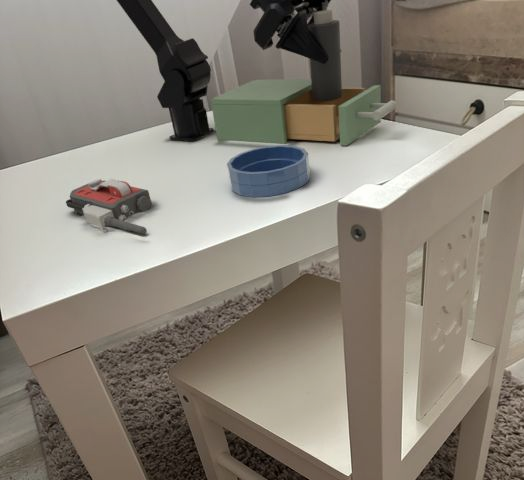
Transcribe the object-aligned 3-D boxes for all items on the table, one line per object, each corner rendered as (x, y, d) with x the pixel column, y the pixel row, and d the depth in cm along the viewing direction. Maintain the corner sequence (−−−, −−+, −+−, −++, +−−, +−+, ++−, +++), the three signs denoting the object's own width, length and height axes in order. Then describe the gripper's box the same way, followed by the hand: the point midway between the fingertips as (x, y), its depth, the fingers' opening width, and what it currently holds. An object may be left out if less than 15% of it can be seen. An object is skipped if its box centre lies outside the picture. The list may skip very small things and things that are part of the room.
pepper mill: (314, 103, 84) (308, 15, 77) (310, 96, 88) (304, 12, 81) (344, 98, 84) (341, 10, 77) (339, 92, 88) (335, 7, 81)
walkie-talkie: (56, 217, 77) (141, 245, 66) (45, 188, 74) (131, 211, 63) (105, 195, 82) (191, 217, 70) (96, 167, 79) (184, 185, 68)
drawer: (404, 123, 88) (405, 85, 84) (371, 147, 80) (371, 106, 77) (312, 119, 97) (309, 85, 93) (275, 141, 89) (271, 104, 86)
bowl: (216, 197, 75) (211, 169, 73) (261, 169, 82) (257, 143, 79) (282, 206, 69) (278, 176, 67) (324, 175, 76) (322, 147, 74)
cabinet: (325, 124, 97) (322, 78, 92) (285, 148, 88) (280, 100, 84) (260, 121, 104) (254, 79, 100) (218, 143, 96) (210, 99, 91)
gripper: (261, -70, 68) (345, 22, 70) (317, -77, 81) (387, 2, 82) (221, 7, 76) (296, 88, 78) (277, -10, 89) (342, 60, 91)
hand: (333, 57), depth 82 cm, fingers closed on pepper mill, 5 cm apart
